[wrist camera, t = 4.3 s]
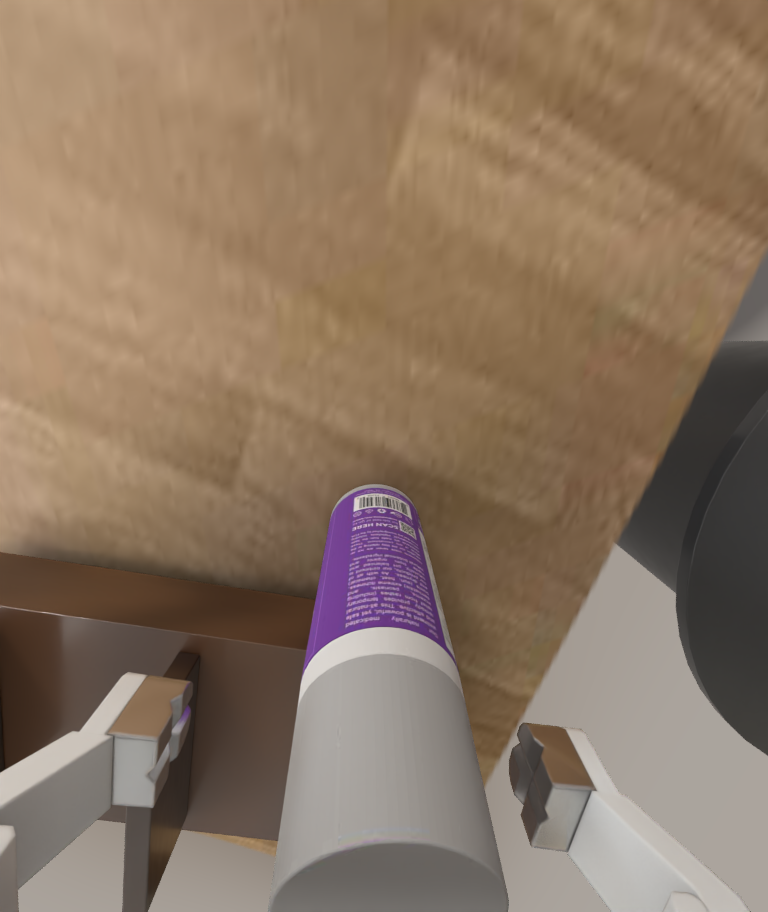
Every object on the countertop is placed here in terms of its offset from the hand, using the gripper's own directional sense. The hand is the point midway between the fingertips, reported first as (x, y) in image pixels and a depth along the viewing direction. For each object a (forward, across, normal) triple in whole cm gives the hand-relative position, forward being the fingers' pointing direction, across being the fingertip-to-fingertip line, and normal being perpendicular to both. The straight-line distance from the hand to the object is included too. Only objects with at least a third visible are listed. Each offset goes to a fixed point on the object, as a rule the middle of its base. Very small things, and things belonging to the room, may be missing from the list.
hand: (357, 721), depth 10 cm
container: (+12, 0, 0) cm, 12 cm away
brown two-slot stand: (+12, +8, +11) cm, 19 cm away
